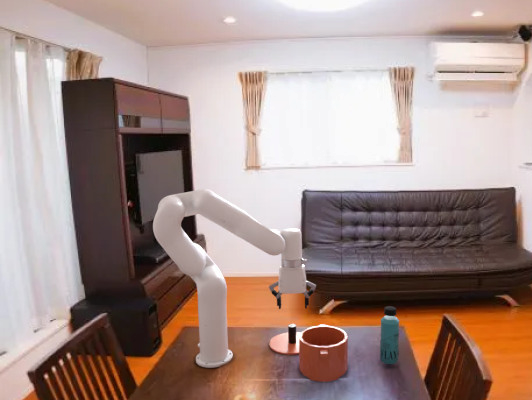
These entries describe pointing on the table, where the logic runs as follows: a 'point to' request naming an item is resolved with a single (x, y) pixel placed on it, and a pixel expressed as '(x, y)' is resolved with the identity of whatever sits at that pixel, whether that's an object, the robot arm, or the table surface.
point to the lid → (286, 342)
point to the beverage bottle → (389, 336)
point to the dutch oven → (323, 353)
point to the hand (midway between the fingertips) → (293, 307)
